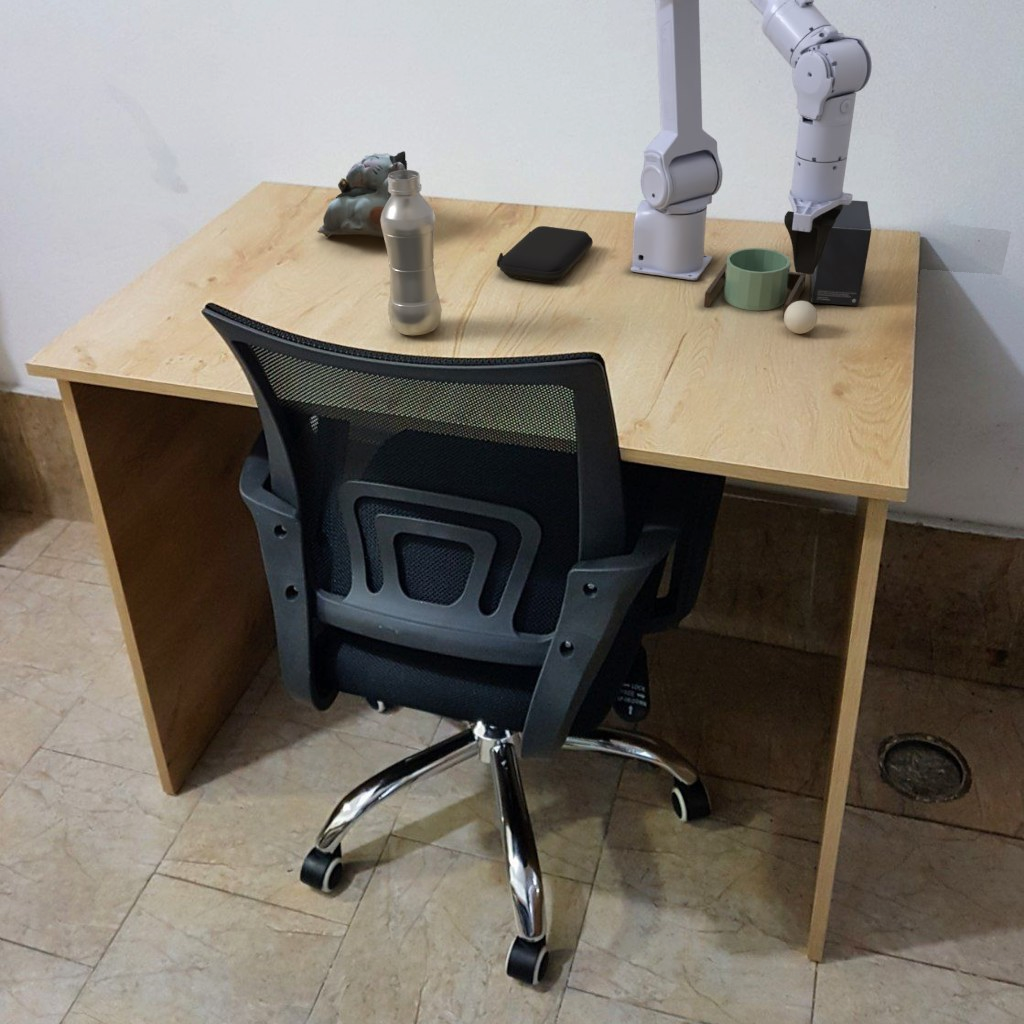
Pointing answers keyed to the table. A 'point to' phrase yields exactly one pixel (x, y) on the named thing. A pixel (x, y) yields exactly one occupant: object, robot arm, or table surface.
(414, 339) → the table surface
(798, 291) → the bar
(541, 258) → the carrying case
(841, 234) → the small box
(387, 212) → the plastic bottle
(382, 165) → the lucky cat figurine
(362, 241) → the table surface
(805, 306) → the off-white sphere
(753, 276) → the waste bin
